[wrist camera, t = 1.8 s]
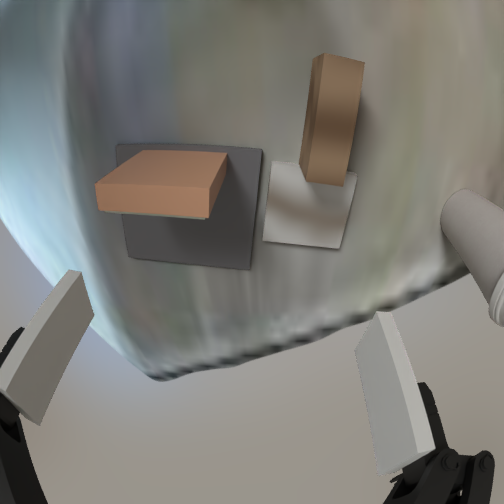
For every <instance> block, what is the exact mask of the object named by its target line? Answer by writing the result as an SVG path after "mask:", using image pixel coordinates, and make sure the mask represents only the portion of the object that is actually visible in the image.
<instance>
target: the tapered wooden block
mask: <svg viewBox="0 0 504 504" xmlns="http://www.w3.org/2000/svg"><path fill="white" fill-rule="evenodd" d="M364 64H365V62H361V61H357V60H353V59H349V58H345V57H341V56H336V55H332V54H327V53H323V54H321V55H319V56H317V57H315V58H313V63H312V71H311V79H310V87H309V95H308V103H307V110H306V118H305V125H304V132H303V139H302V146H301V153H300V159H299V164H296V163H288V162H279V161H272V162H271V171H270V179H269V187H268V196H267V204H266V212H265V220H264V228H263V238H262V241H270V242H280V243H290V244H299V245H309V246H319V247H328V248H337V249H339V247H340V243H341V240H342V236H343V233H344V229H345V225H346V222H347V218H348V214H349V210H350V206H351V202H352V198H353V194H354V190H355V186H356V181H357V177H358V176H357V175H356V173H354V172H348V171H347V166H348V161H349V156H350V151H351V146H352V141H353V135H354V130H355V124H356V119H357V113H358V106H359V100H360V93H361V87H362V80H363V72H364Z"/></svg>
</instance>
